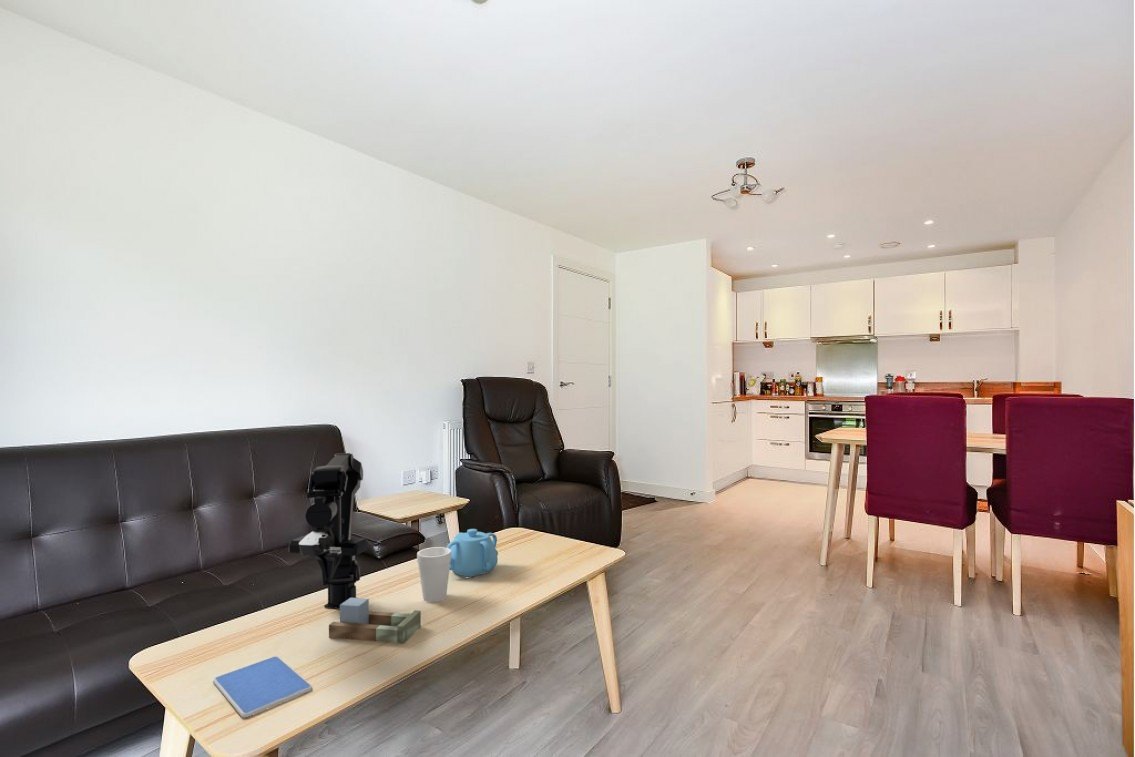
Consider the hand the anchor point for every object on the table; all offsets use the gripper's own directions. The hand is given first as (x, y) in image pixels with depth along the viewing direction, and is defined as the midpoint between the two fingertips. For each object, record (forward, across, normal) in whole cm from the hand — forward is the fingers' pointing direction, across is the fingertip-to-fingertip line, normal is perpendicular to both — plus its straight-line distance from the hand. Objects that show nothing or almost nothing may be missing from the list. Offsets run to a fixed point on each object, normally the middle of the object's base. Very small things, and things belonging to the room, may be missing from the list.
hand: (328, 579), depth 131 cm
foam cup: (+12, +18, +22) cm, 31 cm away
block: (+12, +7, 0) cm, 14 cm away
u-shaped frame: (+12, +12, 0) cm, 17 cm away
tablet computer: (+13, +2, -25) cm, 28 cm away
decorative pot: (+12, +21, +44) cm, 50 cm away
